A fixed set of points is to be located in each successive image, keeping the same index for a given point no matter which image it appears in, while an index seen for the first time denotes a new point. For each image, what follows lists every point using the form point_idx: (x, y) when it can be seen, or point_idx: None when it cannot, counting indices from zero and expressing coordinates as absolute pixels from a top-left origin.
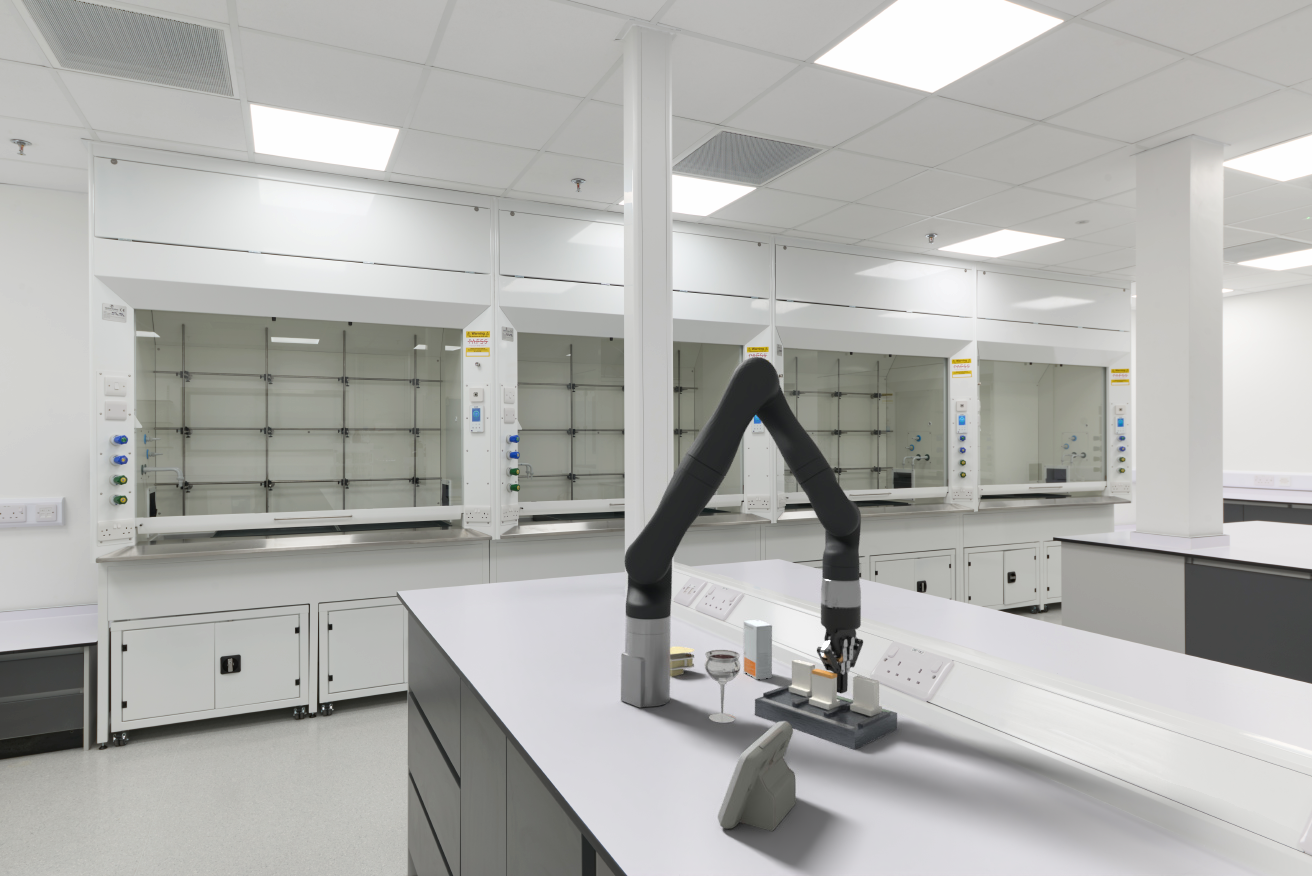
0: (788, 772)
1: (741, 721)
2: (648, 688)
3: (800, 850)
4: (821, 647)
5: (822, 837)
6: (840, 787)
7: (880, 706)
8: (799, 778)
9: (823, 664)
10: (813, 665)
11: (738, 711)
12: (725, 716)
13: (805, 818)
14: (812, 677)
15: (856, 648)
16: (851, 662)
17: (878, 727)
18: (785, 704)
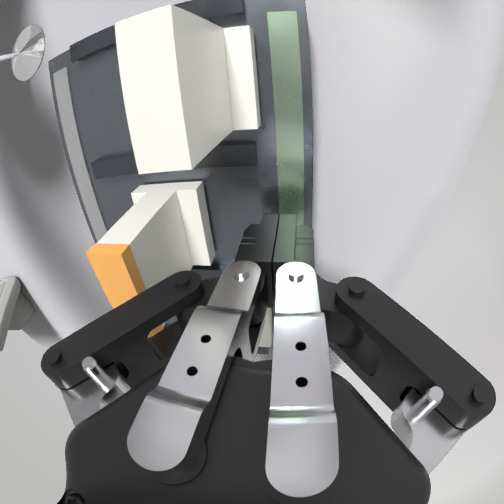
0: (14, 329)
1: (41, 84)
2: None
3: (30, 331)
4: (58, 387)
5: (43, 337)
6: (78, 327)
7: (266, 346)
8: (47, 292)
9: (137, 295)
10: (175, 169)
11: (67, 21)
12: (21, 64)
13: (38, 322)
14: (105, 236)
15: (394, 408)
16: (332, 347)
17: None
18: (85, 140)
